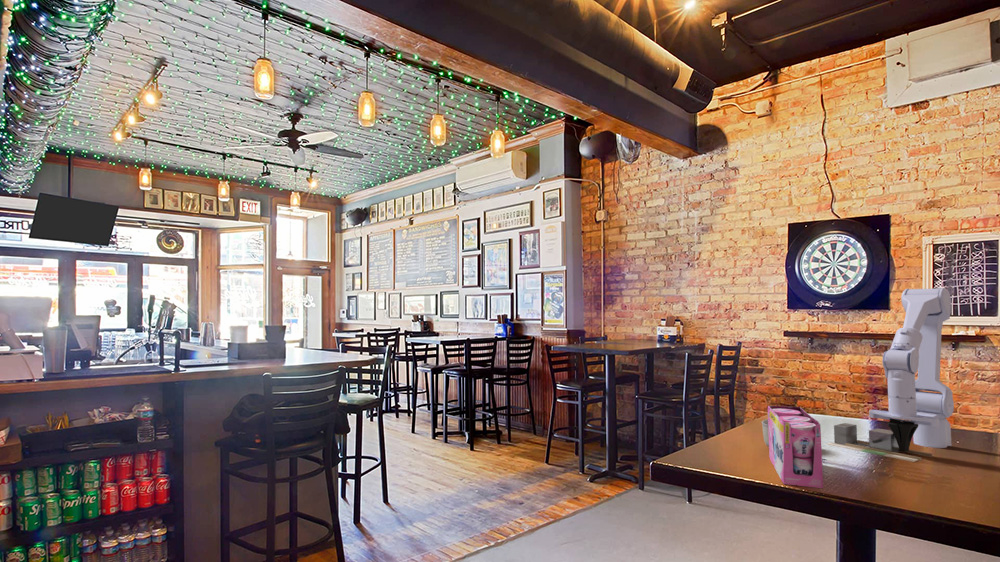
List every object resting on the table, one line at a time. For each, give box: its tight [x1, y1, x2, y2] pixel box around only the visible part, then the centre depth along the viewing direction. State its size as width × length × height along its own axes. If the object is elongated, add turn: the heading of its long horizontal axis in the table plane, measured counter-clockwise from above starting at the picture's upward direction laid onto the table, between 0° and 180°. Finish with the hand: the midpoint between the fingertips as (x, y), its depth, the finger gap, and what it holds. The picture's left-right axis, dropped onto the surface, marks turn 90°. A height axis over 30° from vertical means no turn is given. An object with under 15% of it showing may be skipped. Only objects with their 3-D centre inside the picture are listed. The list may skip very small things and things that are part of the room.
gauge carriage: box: [868, 428, 901, 453], centre depth 139 cm, size 8×5×5 cm, turn 122°
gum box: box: [767, 405, 824, 489], centre depth 126 cm, size 24×8×14 cm, turn 161°
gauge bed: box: [826, 422, 933, 463], centre depth 141 cm, size 12×22×6 cm, turn 32°
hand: (904, 450), depth 136 cm, fingers closed
